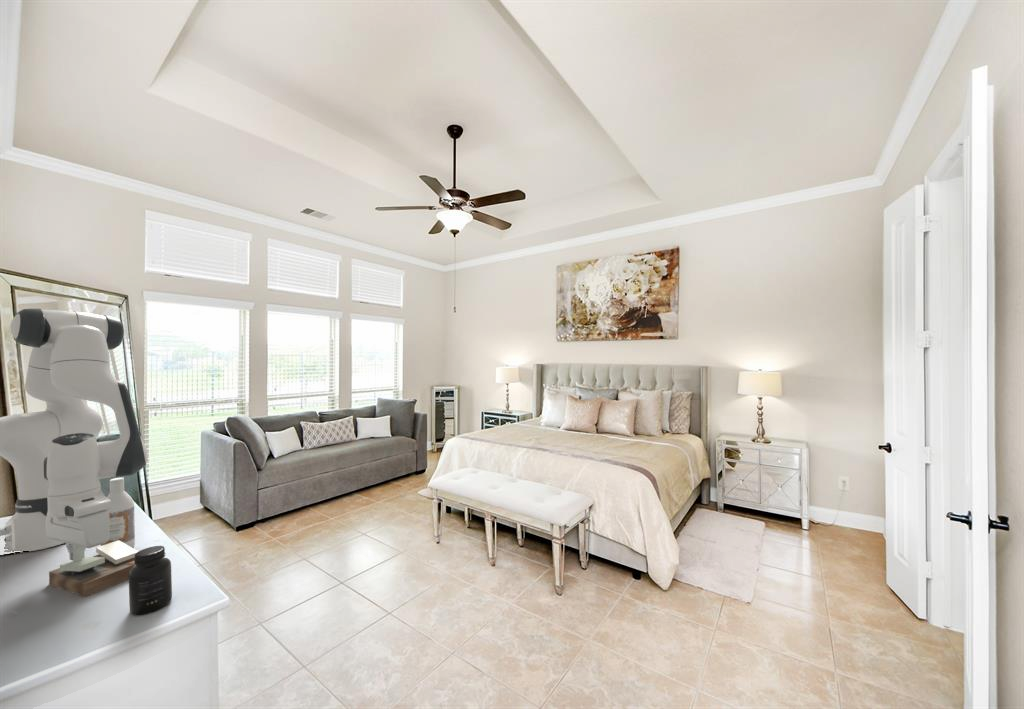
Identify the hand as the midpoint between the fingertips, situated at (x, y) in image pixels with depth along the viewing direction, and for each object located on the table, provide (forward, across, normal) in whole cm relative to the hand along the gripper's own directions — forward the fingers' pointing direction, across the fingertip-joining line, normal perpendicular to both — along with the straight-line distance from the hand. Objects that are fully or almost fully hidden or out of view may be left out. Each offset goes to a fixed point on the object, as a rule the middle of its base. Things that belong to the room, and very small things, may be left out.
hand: (77, 559), depth 98 cm
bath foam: (+5, -12, +13) cm, 19 cm away
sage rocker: (+1, +3, 0) cm, 3 cm away
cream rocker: (+1, +3, +6) cm, 7 cm away
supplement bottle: (+6, +30, 0) cm, 30 cm away
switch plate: (+5, +3, +3) cm, 7 cm away
